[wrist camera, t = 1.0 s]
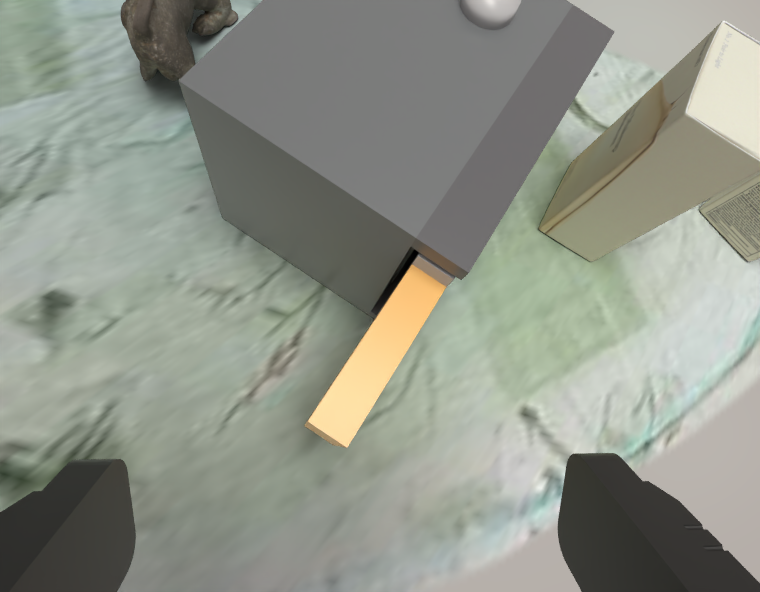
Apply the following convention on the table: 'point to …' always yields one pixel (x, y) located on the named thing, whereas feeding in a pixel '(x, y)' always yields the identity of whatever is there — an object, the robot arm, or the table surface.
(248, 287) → the table surface
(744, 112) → the skincare box
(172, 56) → the dog figurine
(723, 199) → the skincare box
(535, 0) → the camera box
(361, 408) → the door
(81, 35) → the table surface
